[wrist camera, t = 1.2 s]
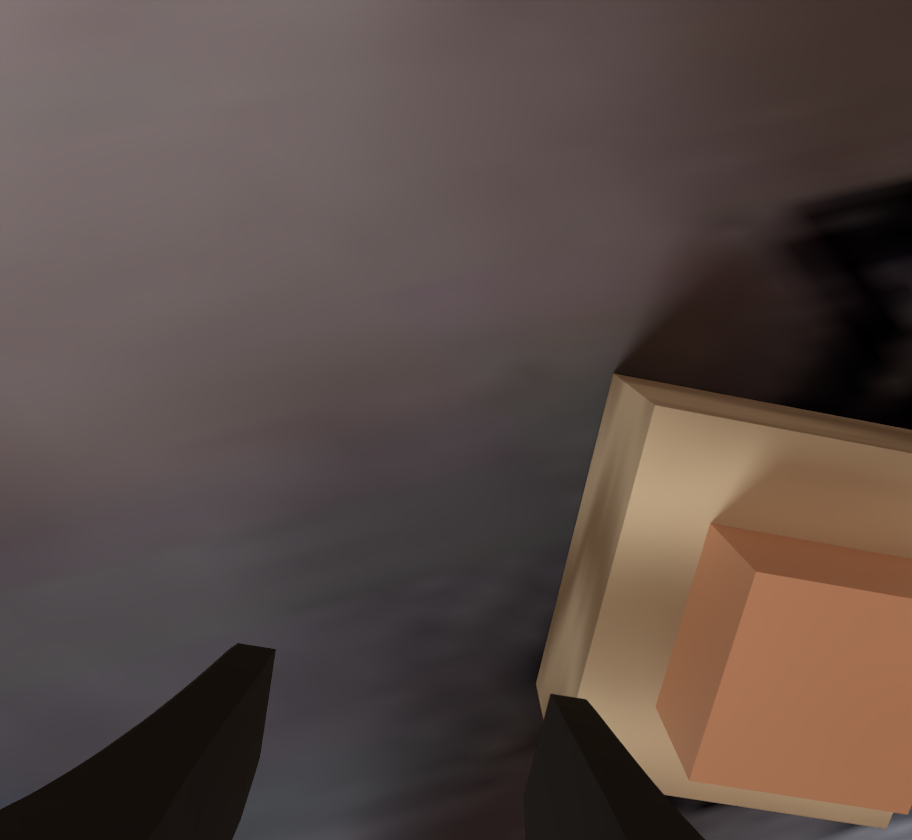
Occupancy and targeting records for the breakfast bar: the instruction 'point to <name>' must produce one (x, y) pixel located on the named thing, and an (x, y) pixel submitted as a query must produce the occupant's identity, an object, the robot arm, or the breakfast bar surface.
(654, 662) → the beige bevelled block
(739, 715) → the terracotta-coloured block
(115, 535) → the breakfast bar surface
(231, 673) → the robot arm
